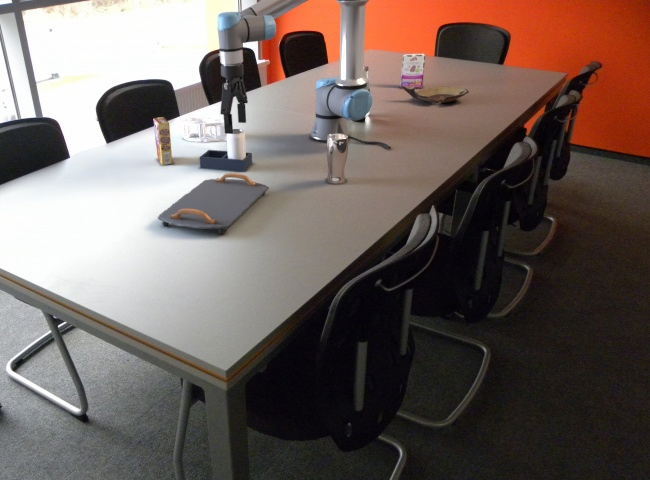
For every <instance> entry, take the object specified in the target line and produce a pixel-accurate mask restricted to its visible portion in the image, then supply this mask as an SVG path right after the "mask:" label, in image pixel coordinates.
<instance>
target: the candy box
mask: <svg viewBox="0 0 650 480" xmlns="http://www.w3.org/2000/svg"><path fill="white" fill-rule="evenodd" d="M170 128H171V127H170V122H169V120H167V119H166V118H165V117H164V116H161V117H154V118H153V129H154V140H155V149H156V159H157V160H158V161H159V163H160V164H161V165H162V166H166V165H173V153H172V152H173V151H172V141H171V140H172V139H171V129H170Z"/></svg>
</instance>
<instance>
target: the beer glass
mask: <svg viewBox="0 0 650 480" xmlns="http://www.w3.org/2000/svg"><path fill="white" fill-rule="evenodd" d="M325 150H326V151H325V153H326V161H327V168H328V169H327V170H328V171H327V177H326V182H327V183H329V184H332V185H339V184H340V185H341V184H344V183H345V182H346V175H345V168H346V163H347V158H348V153H349V138H348V136H347V135H345V134H338V133H337V134H330V135H328V136H327V142H326V147H325Z"/></svg>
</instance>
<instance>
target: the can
mask: <svg viewBox="0 0 650 480" xmlns="http://www.w3.org/2000/svg"><path fill="white" fill-rule="evenodd" d="M246 148H247V147H246V135H245V132H244V129H241V128H233V134H227V141H226V149H227V150H226V151H228V159H239V160H243V159H244V158H245V157H246V153H247V151H246Z"/></svg>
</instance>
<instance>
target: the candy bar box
mask: <svg viewBox="0 0 650 480" xmlns="http://www.w3.org/2000/svg"><path fill="white" fill-rule="evenodd" d="M401 62H402V63H401V76H400V89H403V88H402V87H401V86H402V85H404V86H422V87H415V89H423V85H424V72H425V62H426V54H425V53H402V60H401ZM409 88H411V87H409Z"/></svg>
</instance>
